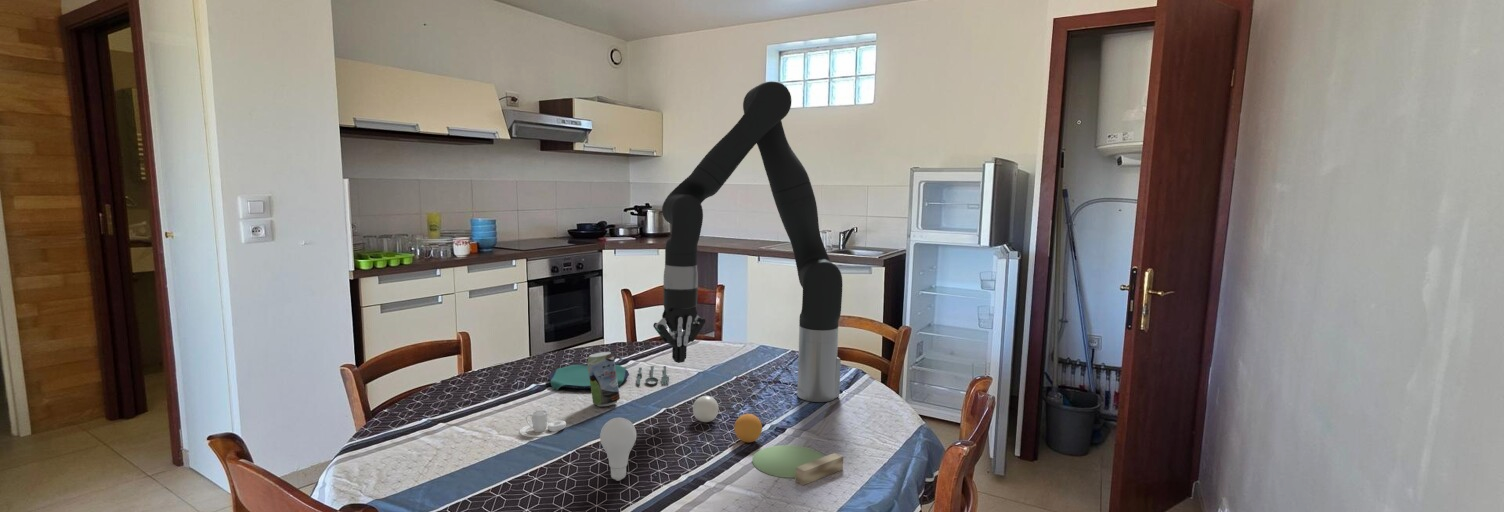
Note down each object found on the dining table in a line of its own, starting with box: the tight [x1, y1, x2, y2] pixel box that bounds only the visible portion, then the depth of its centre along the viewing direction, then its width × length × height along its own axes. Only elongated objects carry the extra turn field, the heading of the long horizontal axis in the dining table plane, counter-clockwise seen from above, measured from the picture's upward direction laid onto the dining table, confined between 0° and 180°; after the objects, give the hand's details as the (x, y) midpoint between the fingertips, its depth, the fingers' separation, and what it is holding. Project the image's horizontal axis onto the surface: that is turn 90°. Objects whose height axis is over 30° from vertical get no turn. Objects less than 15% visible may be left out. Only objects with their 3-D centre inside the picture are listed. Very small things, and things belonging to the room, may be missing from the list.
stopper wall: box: [795, 452, 844, 486], centre depth 120 cm, size 10×2×2 cm, turn 131°
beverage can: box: [586, 351, 620, 408], centre depth 154 cm, size 6×7×12 cm
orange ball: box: [733, 413, 763, 443], centre depth 135 cm, size 6×6×6 cm
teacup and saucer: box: [519, 409, 567, 438], centre depth 139 cm, size 9×8×4 cm
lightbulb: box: [599, 416, 637, 482], centre depth 117 cm, size 6×6×11 cm
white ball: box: [692, 395, 720, 423], centre depth 145 cm, size 6×6×6 cm
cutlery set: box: [548, 363, 670, 391], centre depth 174 cm, size 20×30×2 cm, turn 98°
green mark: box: [752, 444, 826, 479], centre depth 126 cm, size 14×14×1 cm
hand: (679, 361), depth 152 cm, fingers closed
